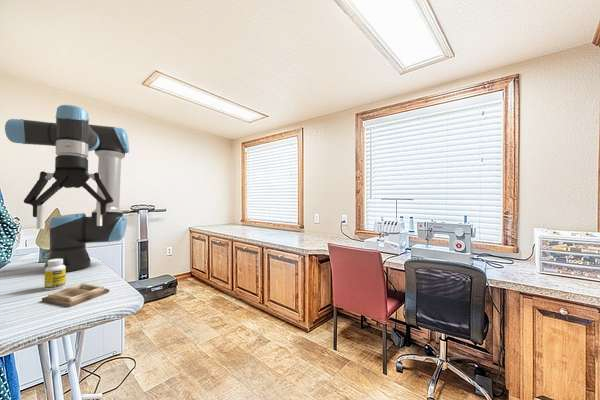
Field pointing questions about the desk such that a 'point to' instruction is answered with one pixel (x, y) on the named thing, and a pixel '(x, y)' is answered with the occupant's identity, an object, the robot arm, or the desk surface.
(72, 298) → the walnut board
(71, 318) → the desk surface
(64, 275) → the supplement bottle
